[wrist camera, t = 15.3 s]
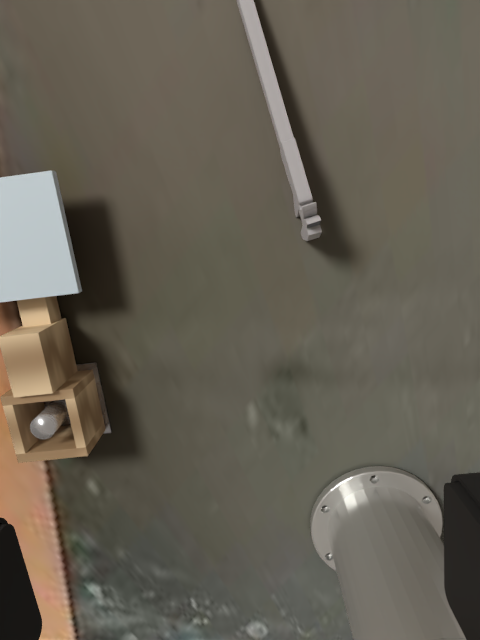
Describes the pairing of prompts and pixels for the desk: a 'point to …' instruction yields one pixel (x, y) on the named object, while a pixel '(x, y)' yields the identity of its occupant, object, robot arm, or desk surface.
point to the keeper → (34, 239)
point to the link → (48, 385)
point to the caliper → (281, 123)
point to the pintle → (65, 410)
